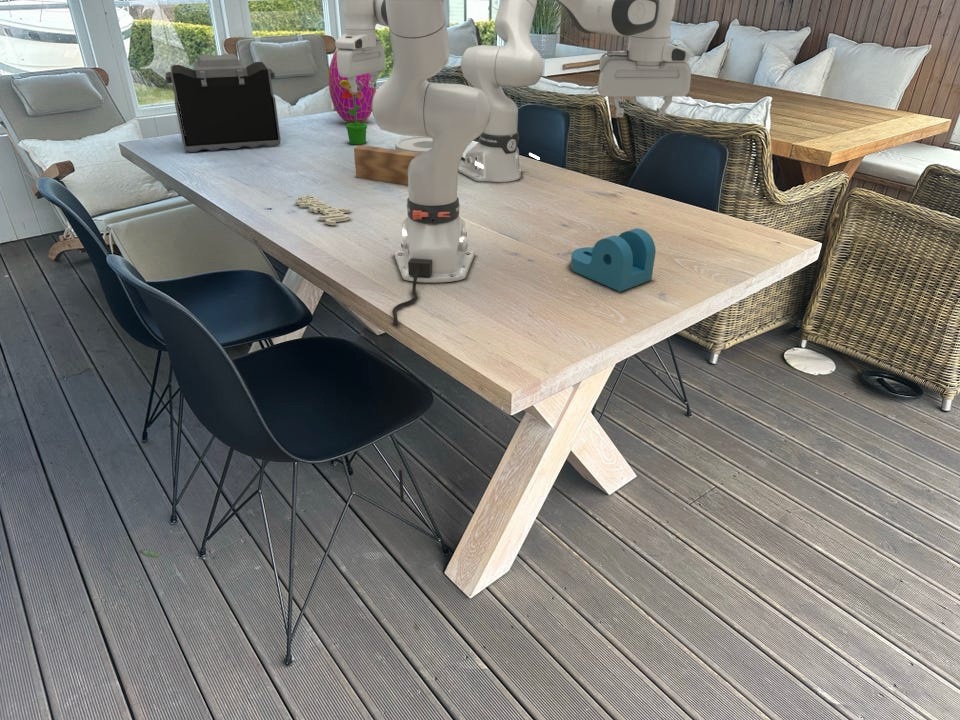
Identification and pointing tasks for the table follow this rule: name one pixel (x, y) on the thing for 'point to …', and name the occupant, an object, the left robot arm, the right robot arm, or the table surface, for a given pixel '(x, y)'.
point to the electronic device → (225, 104)
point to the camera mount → (617, 260)
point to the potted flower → (354, 129)
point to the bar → (383, 164)
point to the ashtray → (414, 144)
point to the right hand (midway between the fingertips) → (364, 89)
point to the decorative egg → (348, 104)
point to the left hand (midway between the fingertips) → (639, 117)
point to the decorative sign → (323, 209)
